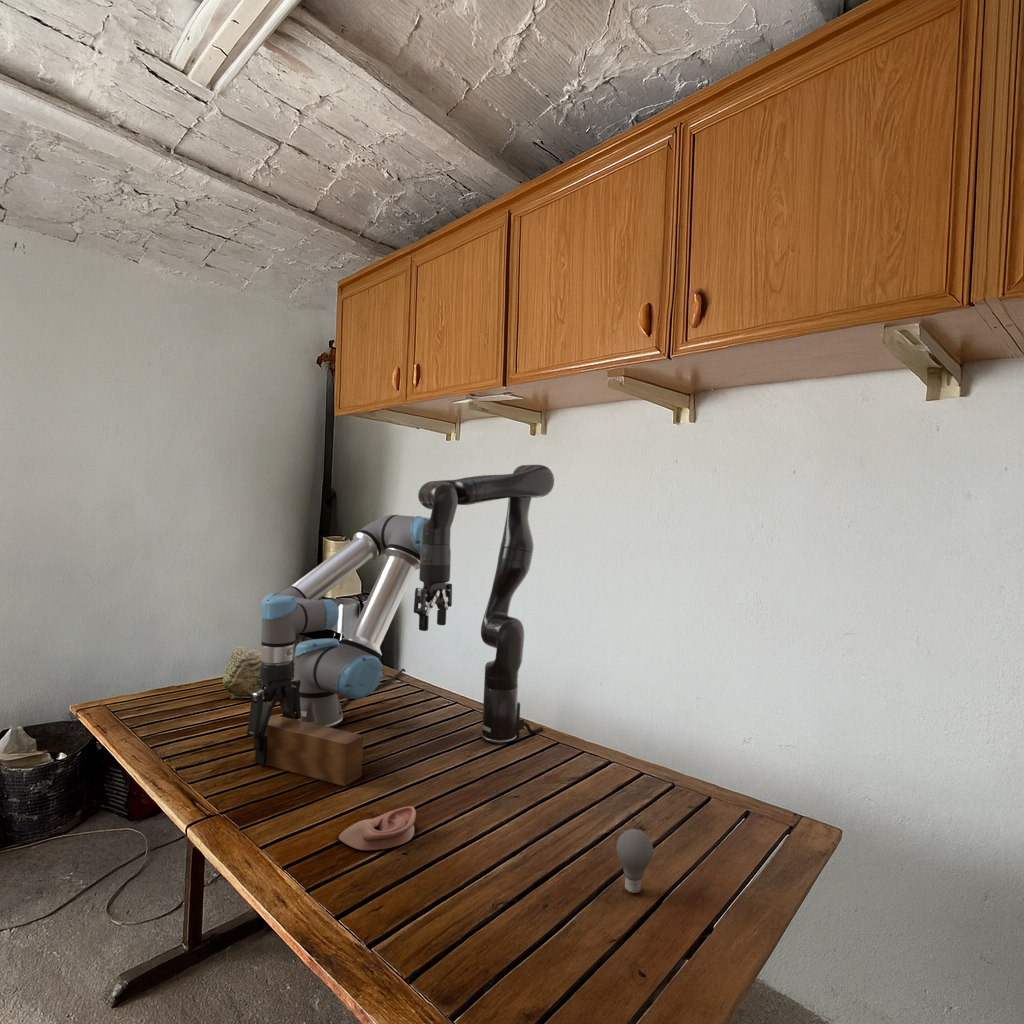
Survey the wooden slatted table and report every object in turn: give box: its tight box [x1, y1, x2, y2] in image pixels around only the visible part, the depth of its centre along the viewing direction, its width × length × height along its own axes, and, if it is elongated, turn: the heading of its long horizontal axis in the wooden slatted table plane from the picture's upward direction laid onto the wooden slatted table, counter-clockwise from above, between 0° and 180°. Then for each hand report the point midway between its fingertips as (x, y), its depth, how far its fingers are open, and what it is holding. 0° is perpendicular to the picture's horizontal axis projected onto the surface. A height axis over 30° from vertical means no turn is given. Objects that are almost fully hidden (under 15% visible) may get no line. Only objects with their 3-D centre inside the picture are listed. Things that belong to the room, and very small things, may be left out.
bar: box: [254, 714, 364, 787], centre depth 147 cm, size 26×6×10 cm, turn 66°
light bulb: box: [615, 828, 654, 894], centre depth 106 cm, size 6×6×10 cm
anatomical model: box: [338, 805, 417, 851], centre depth 119 cm, size 13×4×12 cm
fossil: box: [222, 646, 263, 699], centre depth 198 cm, size 9×18×15 cm, turn 132°
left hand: (273, 756), depth 151 cm, fingers open, 8 cm apart
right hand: (432, 627), depth 156 cm, fingers open, 8 cm apart
